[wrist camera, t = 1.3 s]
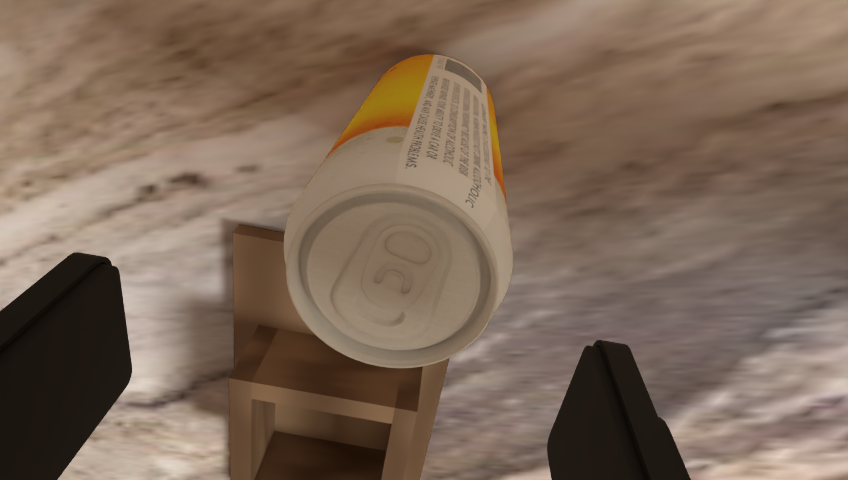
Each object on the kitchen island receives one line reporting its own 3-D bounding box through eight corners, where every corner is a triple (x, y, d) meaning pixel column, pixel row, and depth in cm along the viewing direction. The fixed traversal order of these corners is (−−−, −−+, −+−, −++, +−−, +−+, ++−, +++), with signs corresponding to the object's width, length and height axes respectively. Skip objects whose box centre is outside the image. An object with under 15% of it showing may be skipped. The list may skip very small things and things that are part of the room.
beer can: (353, 145, 28) (244, 331, 14) (396, 28, 25) (310, 127, 12) (462, 192, 28) (453, 408, 15) (517, 83, 25) (563, 234, 12)
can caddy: (469, 266, 30) (468, 327, 26) (410, 510, 41) (402, 585, 36) (239, 224, 30) (195, 278, 26) (240, 480, 41) (209, 551, 36)
